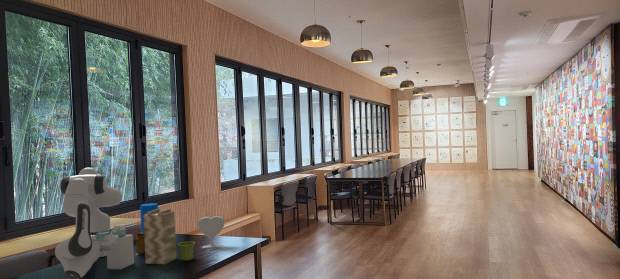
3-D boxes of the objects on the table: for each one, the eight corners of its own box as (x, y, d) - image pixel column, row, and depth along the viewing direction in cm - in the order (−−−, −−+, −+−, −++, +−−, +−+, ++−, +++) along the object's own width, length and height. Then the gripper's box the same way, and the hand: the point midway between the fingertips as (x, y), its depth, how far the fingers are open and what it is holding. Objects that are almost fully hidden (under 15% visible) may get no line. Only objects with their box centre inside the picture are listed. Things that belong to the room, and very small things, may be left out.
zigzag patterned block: (145, 263, 243) (143, 212, 243) (157, 258, 254) (154, 209, 253) (165, 264, 240) (163, 212, 240) (176, 258, 251) (174, 208, 251)
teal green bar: (95, 240, 224) (96, 228, 225) (119, 234, 245) (119, 224, 245) (102, 240, 224) (102, 228, 224) (125, 234, 244) (126, 224, 245)
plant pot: (194, 256, 254) (194, 240, 254) (196, 260, 245) (196, 244, 245) (177, 258, 251) (176, 242, 251) (178, 262, 242) (178, 246, 242)
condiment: (138, 252, 270) (137, 232, 270) (152, 251, 271) (151, 231, 271) (134, 255, 263) (133, 234, 263) (149, 254, 264) (148, 233, 264)
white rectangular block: (107, 268, 236) (106, 239, 236) (121, 263, 246) (119, 234, 246) (121, 269, 234) (119, 239, 234) (134, 263, 244) (132, 234, 244)
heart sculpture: (198, 248, 273) (197, 218, 273) (199, 246, 278) (198, 217, 278) (224, 246, 275) (223, 216, 274) (225, 244, 280) (224, 215, 279)
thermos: (142, 242, 296) (140, 204, 296) (159, 240, 300) (157, 202, 299) (141, 245, 286) (139, 206, 286) (159, 244, 289) (157, 204, 289)
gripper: (108, 246, 216) (123, 226, 227) (72, 245, 221) (88, 226, 232) (113, 255, 219) (128, 236, 231) (77, 255, 224) (93, 235, 235)
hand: (108, 231), depth 231 cm, fingers closed on teal green bar, 4 cm apart
